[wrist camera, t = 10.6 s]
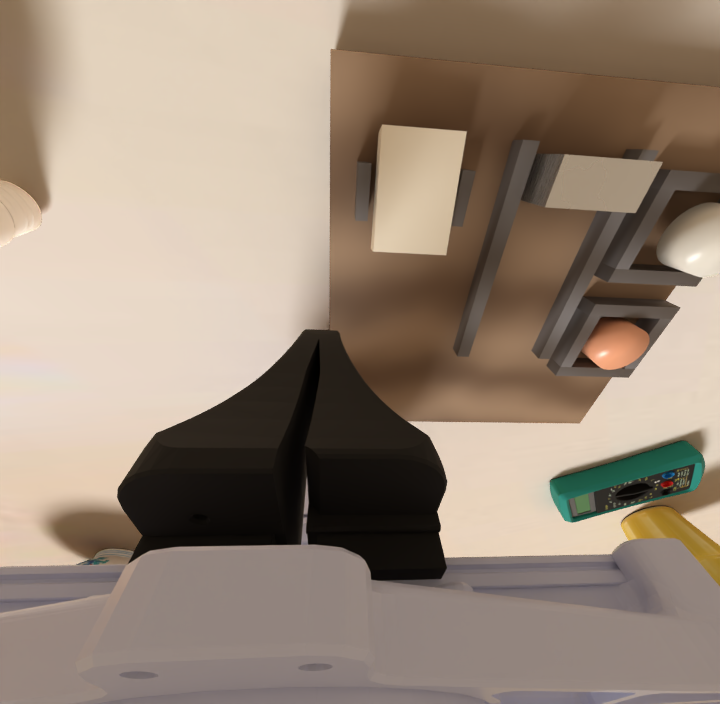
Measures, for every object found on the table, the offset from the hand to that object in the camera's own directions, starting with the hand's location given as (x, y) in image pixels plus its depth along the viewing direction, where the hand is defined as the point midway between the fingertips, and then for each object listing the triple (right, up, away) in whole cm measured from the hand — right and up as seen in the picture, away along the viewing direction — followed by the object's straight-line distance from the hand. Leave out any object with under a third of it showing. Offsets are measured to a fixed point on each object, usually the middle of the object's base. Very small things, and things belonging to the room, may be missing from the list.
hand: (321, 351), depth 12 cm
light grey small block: (+12, +9, +3) cm, 15 cm away
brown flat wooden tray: (+11, +4, +9) cm, 15 cm away
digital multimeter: (+32, -14, +24) cm, 42 cm away
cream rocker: (+4, +7, +2) cm, 9 cm away
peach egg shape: (+18, +1, +9) cm, 21 cm away
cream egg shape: (+19, +6, +4) cm, 20 cm away
